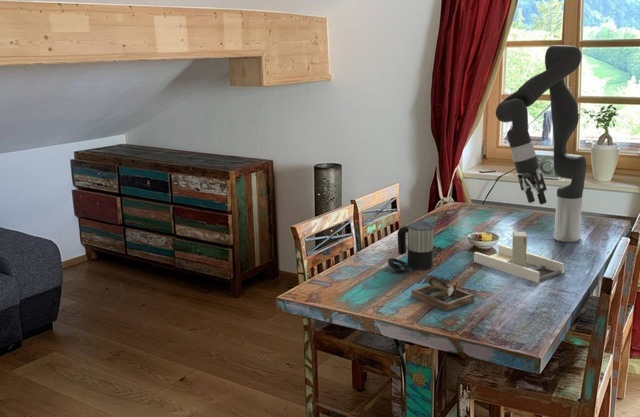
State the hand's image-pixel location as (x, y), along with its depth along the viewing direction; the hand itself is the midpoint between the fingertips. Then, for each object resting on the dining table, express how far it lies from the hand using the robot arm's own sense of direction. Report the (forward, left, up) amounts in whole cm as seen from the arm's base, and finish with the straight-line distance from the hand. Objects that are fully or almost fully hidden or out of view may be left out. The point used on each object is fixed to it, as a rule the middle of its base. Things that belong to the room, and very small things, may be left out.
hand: (537, 202), depth 231 cm
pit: (+6, +8, -22) cm, 25 cm away
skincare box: (+6, -2, -22) cm, 23 cm away
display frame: (+46, +1, -22) cm, 51 cm away
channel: (+6, -2, -22) cm, 23 cm away
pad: (+6, -12, -22) cm, 26 cm away
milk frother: (+34, -26, -23) cm, 48 cm away
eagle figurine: (+47, +1, -23) cm, 52 cm away
